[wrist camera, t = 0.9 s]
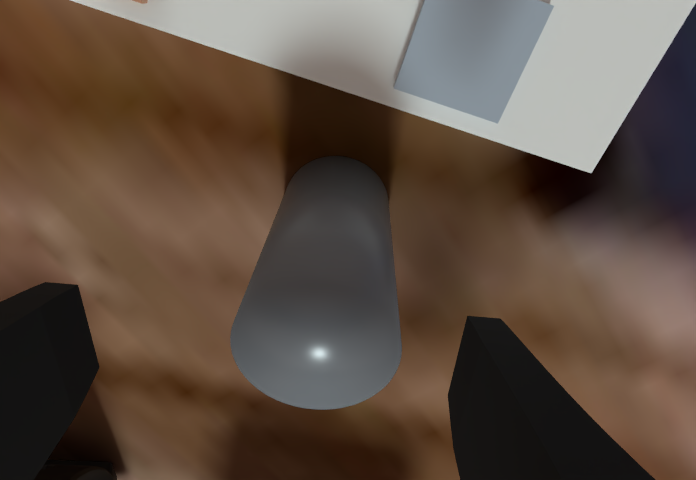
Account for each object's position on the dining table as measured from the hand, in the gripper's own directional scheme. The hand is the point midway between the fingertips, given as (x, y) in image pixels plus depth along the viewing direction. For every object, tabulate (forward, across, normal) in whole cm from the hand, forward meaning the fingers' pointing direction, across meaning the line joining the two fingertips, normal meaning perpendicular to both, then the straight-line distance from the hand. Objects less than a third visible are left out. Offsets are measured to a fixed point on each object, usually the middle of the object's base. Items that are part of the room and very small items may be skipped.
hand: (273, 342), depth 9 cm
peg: (+10, -1, +2) cm, 10 cm away
